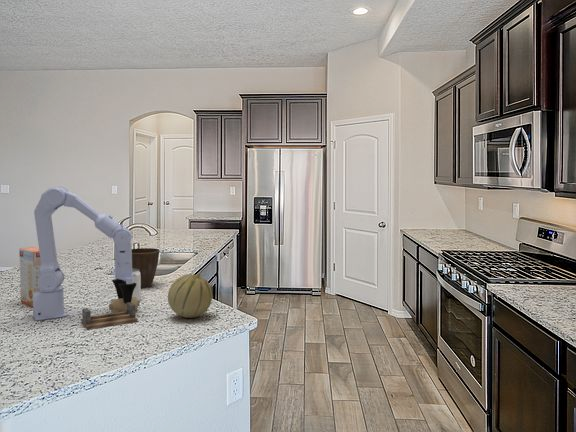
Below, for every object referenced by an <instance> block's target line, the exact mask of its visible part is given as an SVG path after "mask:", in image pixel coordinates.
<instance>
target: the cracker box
mask: <svg viewBox="0 0 576 432" xmlns="http://www.w3.org/2000/svg"><path fill="white" fill-rule="evenodd" d="M18 254H19V280H20V281H19V282H20V283H19V284H20V286H19V287H20V302H21V303H23V304H24V305H25V304H26V305H28V306H30V307H31V308H33V293H34V292H38V291H40V289H41V288H40V287H39V285H38V280H39V277H40V266H41V259H40V252H39V247H34V246H30V247H29V246H28V247H21V248H19V253H18Z"/></svg>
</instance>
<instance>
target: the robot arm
mask: <svg viewBox="0 0 576 432" xmlns="http://www.w3.org/2000/svg"><path fill="white" fill-rule="evenodd" d="M61 207H66V208H67V207H69V208H74V209H76V210H77V211H78V212H80V213H81V214H83V215H84V216H86V217H87V218H88V219H90V220H91V221H93V223H94V227H95V228H96V229H97V230H99V231H100V232H101V233H103V234H104V235H106V236H107V237H108V238H109V239H112V240H113V242H114V278H113V279H111V282H112V283H113V285H114V287H115V291H116V295H117V299H120V298H123V301H124V303H125V304H126V303H128V302H131V300H132V295H133V291H134V289H135V287H136V283H133V276H136V274H132V249H133V248H132V242H131V241H132V238H133V235H132V232H131V231H130V229H129V228H127V227H124V226H125V225H124V224H121V223H119V222H118V221H116V220H115V219H114V216H112V214H109V215H108V214H107V213H103V214H100V212H99V211H97V210H96V209H94V208H93V207H92V206H91V205H90V204H88V203H87V202H86V201H85V200H84V199H82V198H81V197H80V196H79V195H77V194H76V193H74V192H72V191H69V190H68V189H67V188H65V187H63V186H52V187H49V188H48V189H46V190H45V191H44V192H42V194H41V195H40V198H39V200H38V202H37V205H36V207H35V209H34V211H33V212H34V213H33V214H34V220H35V221H34V222H35V229H36V235H37V236H36V237H37V243H38V248H39V252H40V259H41V266H40V277H39V280H38V285H39V287H40V288H41V289H40V291H38V292H34V293H33V307H32V316H33V317H34V319H35V321H41V320H47V319H48V320H50V319H55V318H56V319H57V318H64V317H67V316H68V315H67V313H66V311H65V302H64V299H65V297H64V295H65V294H64V287H63V285H62V283H64V280H65V274H64V272H63V270H62V269H61V266H60V263H59V261H58V257H57V248H56V247H57V246H56V242H55V235H54V225H53V219H52V216H53V214H55V212H56V211H57V210H58V209H59V208H61Z"/></svg>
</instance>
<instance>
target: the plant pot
mask: <svg viewBox="0 0 576 432" xmlns="http://www.w3.org/2000/svg"><path fill="white" fill-rule="evenodd" d="M131 249H132V269H139V272H140V275H141V289H147V287H148V288H151V287H152V285H153V282H154V279H155V276H156V273H157V267H158V263H159V258H160V249H158V248H153V247H150V248H149V247H146V248H145V247H144V248H140V247H139V248H131Z"/></svg>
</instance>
